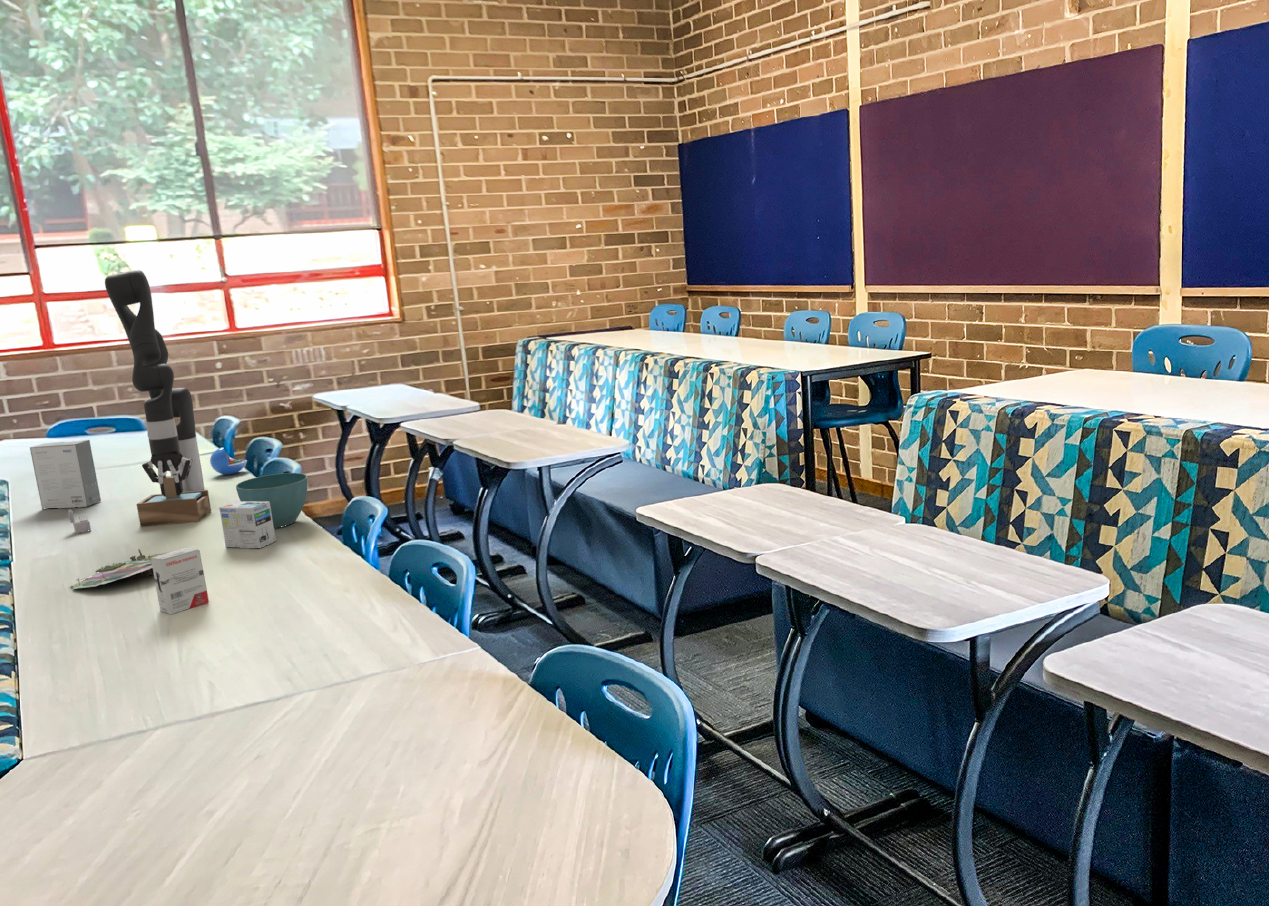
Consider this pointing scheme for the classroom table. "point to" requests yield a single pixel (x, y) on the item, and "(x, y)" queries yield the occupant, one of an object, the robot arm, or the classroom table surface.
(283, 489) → the plant pot
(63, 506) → the hard drive box
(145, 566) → the city model
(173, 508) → the brown wooden shelf box
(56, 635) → the classroom table surface
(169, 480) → the lid
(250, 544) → the light bulb box
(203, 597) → the ink box
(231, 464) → the cell model
